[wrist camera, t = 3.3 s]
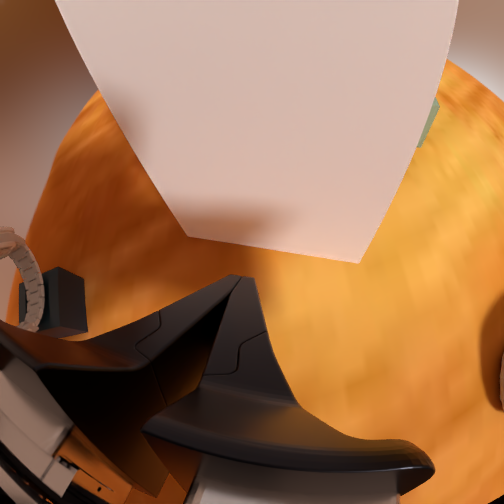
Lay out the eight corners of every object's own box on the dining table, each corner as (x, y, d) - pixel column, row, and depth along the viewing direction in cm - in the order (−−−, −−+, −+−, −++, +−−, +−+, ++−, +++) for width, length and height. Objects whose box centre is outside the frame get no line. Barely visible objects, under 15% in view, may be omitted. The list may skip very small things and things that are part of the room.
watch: (83, 256, 19) (-16, 191, 9) (91, 355, 16) (-37, 333, 6) (43, 273, 19) (-47, 225, 9) (47, 360, 16) (-60, 341, 6)
